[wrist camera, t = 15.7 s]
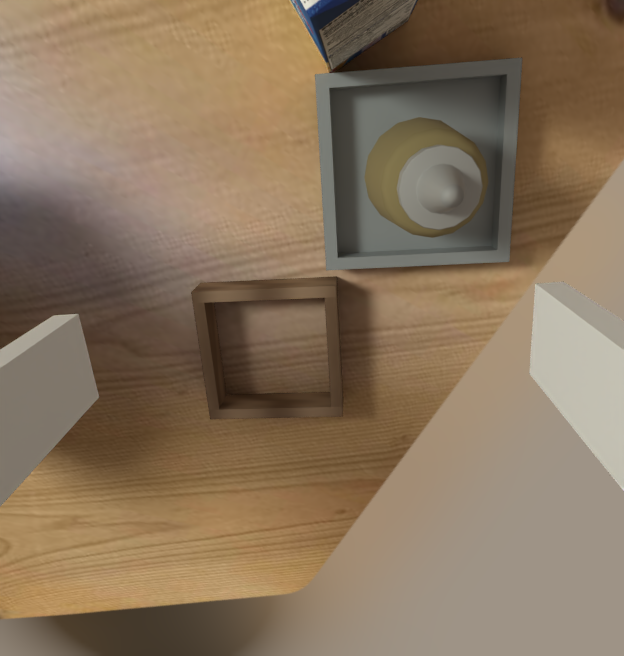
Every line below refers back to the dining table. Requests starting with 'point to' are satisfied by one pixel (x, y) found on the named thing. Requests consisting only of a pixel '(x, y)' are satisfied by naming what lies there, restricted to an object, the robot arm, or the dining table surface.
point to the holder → (277, 402)
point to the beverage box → (349, 25)
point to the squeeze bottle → (426, 177)
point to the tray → (401, 105)
